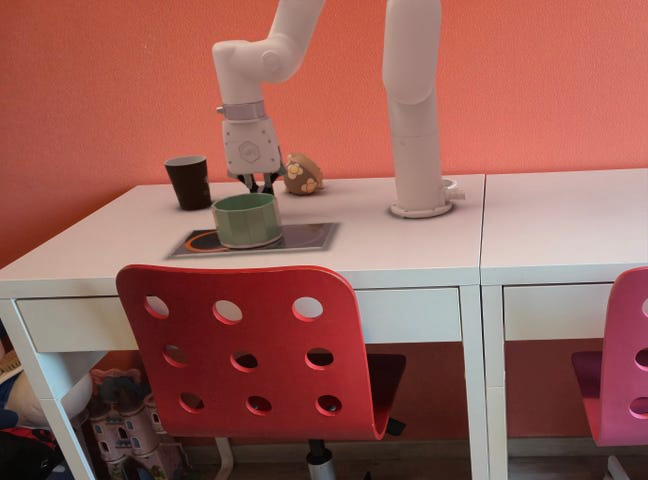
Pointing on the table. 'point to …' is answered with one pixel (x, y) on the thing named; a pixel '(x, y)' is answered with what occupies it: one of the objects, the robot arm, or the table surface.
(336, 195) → the table surface
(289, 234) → the hob
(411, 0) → the robot arm
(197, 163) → the coffee mug
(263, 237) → the saucepan
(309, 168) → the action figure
